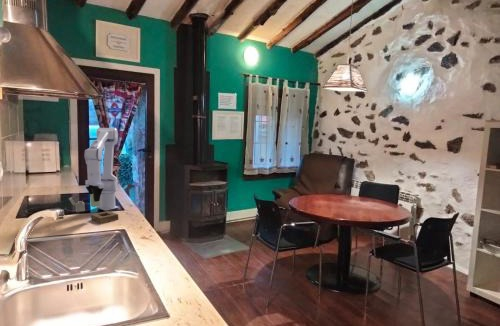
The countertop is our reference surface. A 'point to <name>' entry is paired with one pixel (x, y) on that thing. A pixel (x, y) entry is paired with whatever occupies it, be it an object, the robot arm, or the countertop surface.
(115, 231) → the countertop surface
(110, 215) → the brown square frame
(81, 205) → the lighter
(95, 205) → the sage peg
